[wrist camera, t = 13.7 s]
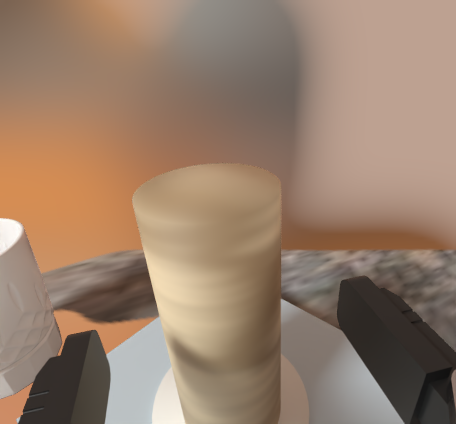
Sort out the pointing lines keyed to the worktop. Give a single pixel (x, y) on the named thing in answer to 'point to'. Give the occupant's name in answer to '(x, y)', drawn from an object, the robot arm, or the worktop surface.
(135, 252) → the worktop surface
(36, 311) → the white cup
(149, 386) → the light grey plinth
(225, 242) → the maple pillar
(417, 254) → the worktop surface
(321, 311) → the worktop surface
